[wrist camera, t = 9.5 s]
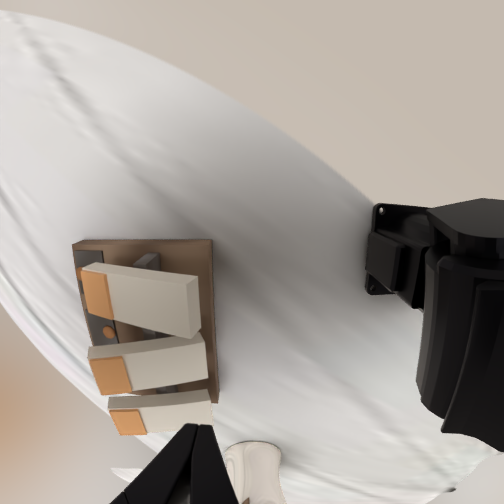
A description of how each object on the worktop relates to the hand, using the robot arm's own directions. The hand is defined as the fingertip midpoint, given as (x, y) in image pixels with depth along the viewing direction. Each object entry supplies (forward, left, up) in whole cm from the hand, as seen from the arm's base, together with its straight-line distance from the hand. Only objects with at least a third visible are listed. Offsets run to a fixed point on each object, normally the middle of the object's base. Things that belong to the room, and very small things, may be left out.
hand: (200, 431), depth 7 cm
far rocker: (+4, +8, -7) cm, 11 cm away
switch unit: (+6, +3, -12) cm, 14 cm away
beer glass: (-2, +20, -12) cm, 24 cm away
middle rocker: (+4, +3, -7) cm, 9 cm away
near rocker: (+4, -1, -7) cm, 8 cm away
